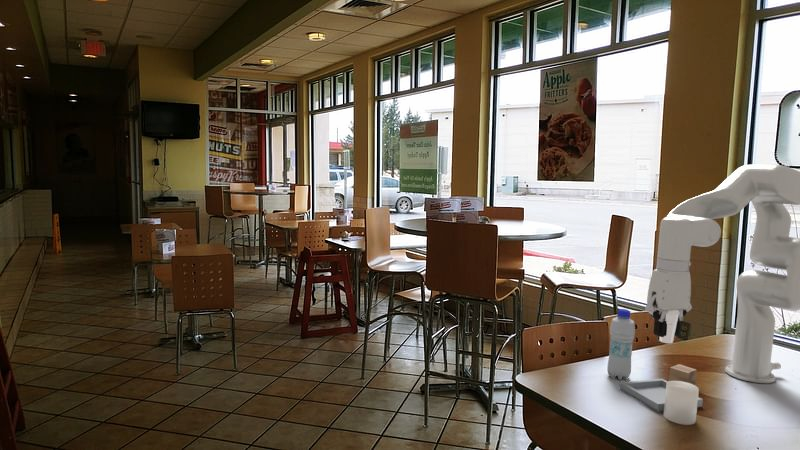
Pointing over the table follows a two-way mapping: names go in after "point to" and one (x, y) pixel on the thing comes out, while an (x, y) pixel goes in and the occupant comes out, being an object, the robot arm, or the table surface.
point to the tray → (649, 392)
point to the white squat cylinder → (681, 402)
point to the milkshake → (670, 326)
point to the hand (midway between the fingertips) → (666, 334)
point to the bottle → (621, 345)
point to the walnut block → (682, 374)
